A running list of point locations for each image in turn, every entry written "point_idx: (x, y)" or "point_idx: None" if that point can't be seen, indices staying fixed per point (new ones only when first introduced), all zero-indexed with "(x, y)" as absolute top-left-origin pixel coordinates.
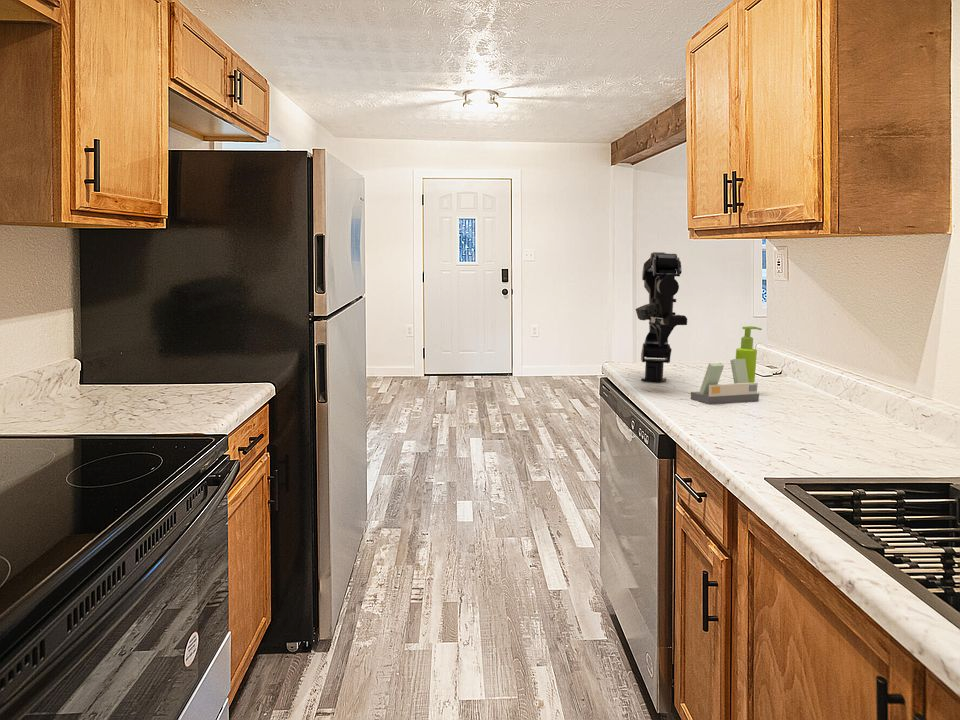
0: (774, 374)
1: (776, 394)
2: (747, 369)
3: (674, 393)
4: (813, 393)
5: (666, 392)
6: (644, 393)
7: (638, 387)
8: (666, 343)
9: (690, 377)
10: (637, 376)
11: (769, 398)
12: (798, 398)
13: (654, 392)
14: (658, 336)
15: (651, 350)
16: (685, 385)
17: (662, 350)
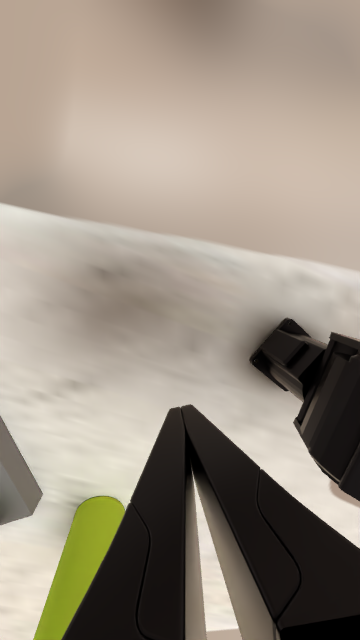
0: None
1: None
2: (40, 618)
3: (69, 341)
4: None
5: (86, 323)
6: (60, 241)
7: (177, 265)
8: (352, 489)
9: None
10: (355, 333)
11: (15, 545)
12: (25, 595)
13: (83, 284)
14: (204, 470)
15: (342, 381)
16: (204, 413)
17: (321, 433)
